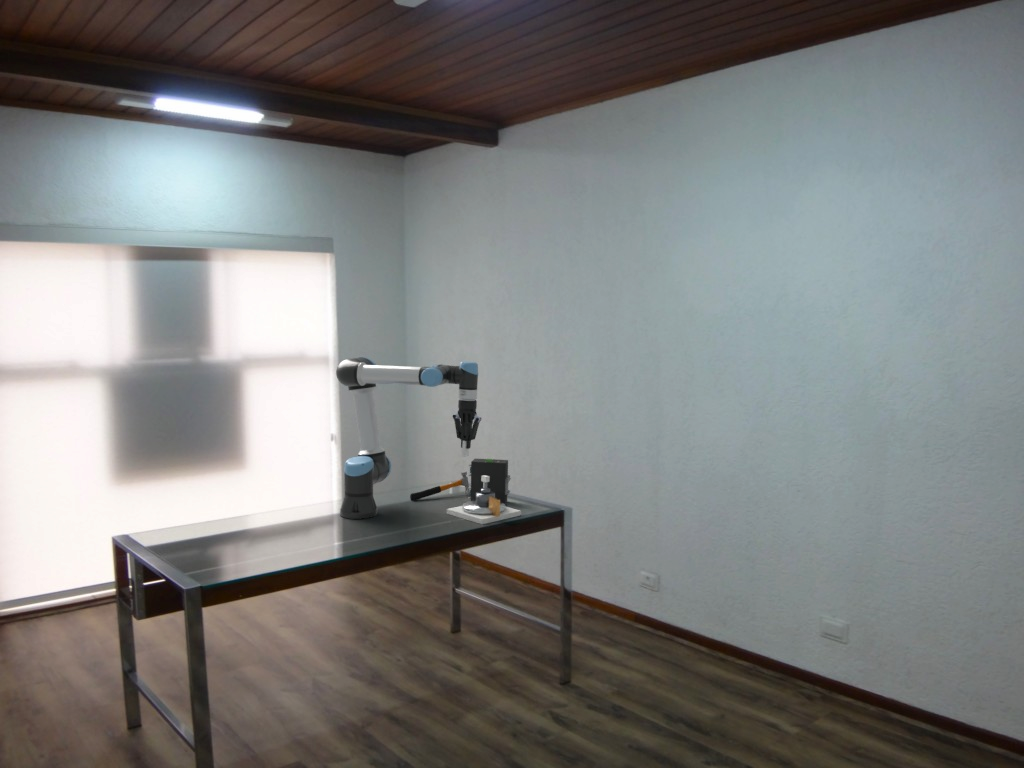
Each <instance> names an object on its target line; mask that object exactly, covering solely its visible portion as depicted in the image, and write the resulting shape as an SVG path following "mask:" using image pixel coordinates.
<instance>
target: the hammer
mask: <svg viewBox="0 0 1024 768" xmlns="http://www.w3.org/2000/svg"><path fill="white" fill-rule="evenodd" d="M467 474H468V472H467V470H461V471H460V475H461V477H460V479H459V480H457V481H456V480H455V481H454V482H451V483H449V484H444V485H438V486H434V487H431V488H428V489H425V490H421V491H417V492H412V493H410V496H409V498H410V501H411V502H414V501H418V500H421V499H424V498H426V497H430V496H433V495H436V494H439V493H441V492H443V491H447V490H449V489H452V488H456V487H460V486H463V487H464V494H466V495H469V493H470V489H468V488H469V487H470V485H469V478H468V477H469V476H467Z"/></svg>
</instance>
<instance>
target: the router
mask: <svg viewBox="0 0 1024 768" xmlns="http://www.w3.org/2000/svg"><path fill="white" fill-rule="evenodd" d="M468 467H469V473H468V477H470V486H469V488H468V489H469V493H468V497H467V499H468V500H469V499H470V501H474V500H476V492H480V491H481V488H483V482H482V481H481V476H483V475H486V476H490V478H489V482H487V488H489V489H490V492H494V493H495V498H497V499H499V500H500V502H501V503H504V504H505V505H506V504H507V503H508V495H509V494H510V493H511V490H509V482H510V480H512V479H511V475H510V474H509V459H493V458H473V460H472V461H471V463H469V464H468Z"/></svg>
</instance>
